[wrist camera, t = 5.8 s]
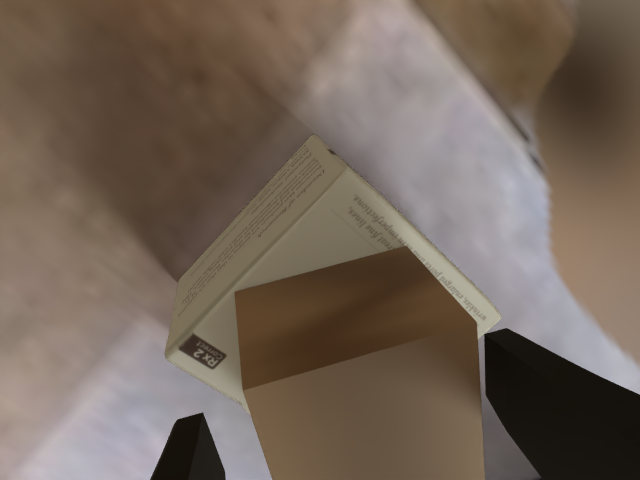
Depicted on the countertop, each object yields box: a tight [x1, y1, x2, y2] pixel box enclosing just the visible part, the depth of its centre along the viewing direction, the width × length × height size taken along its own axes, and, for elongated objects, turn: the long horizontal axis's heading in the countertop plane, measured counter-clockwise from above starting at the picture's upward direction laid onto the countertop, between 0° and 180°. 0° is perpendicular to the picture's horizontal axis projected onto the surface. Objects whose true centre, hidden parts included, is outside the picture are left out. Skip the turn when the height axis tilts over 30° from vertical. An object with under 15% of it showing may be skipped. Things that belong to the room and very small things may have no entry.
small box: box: [165, 134, 501, 415], centre depth 17 cm, size 8×8×5 cm
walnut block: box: [234, 246, 485, 480], centre depth 12 cm, size 5×5×4 cm
